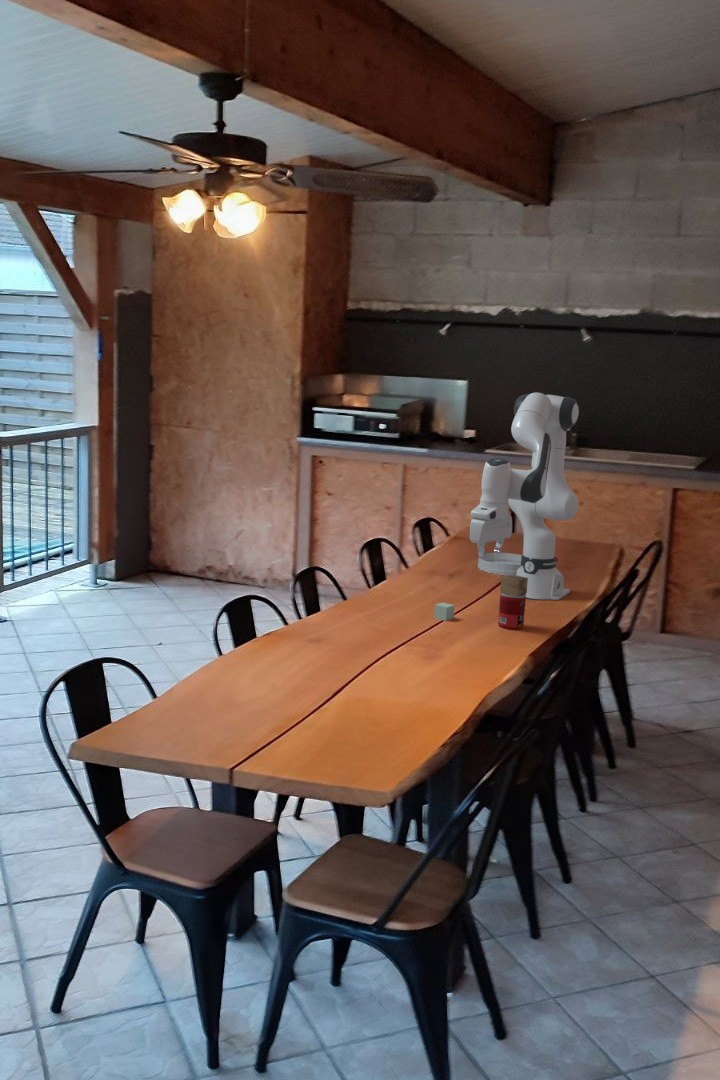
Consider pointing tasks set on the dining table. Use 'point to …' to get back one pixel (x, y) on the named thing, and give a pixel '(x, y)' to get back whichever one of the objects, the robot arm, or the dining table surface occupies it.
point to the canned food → (511, 611)
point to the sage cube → (444, 611)
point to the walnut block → (514, 585)
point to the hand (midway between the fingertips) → (489, 554)
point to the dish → (500, 563)
